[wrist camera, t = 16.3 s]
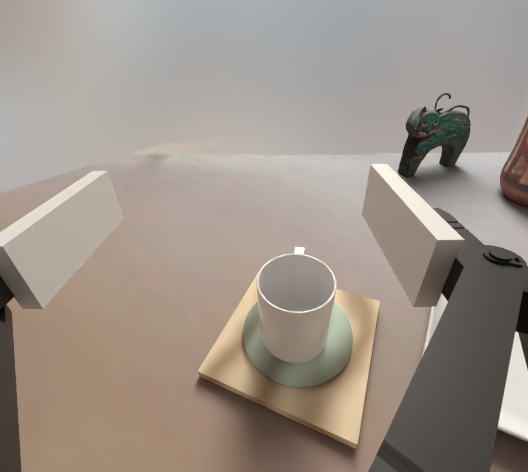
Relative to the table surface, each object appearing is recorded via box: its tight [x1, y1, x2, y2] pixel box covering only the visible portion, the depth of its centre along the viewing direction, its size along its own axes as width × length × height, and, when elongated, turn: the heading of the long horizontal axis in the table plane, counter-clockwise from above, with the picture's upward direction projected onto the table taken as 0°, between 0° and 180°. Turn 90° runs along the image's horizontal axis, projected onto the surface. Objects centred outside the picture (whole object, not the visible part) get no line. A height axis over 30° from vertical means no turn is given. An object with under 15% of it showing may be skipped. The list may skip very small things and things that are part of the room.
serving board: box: [198, 269, 380, 449], centre depth 40 cm, size 20×20×2 cm
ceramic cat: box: [398, 93, 470, 177], centre depth 74 cm, size 20×6×20 cm, turn 109°
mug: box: [256, 247, 337, 363], centre depth 36 cm, size 12×9×11 cm
